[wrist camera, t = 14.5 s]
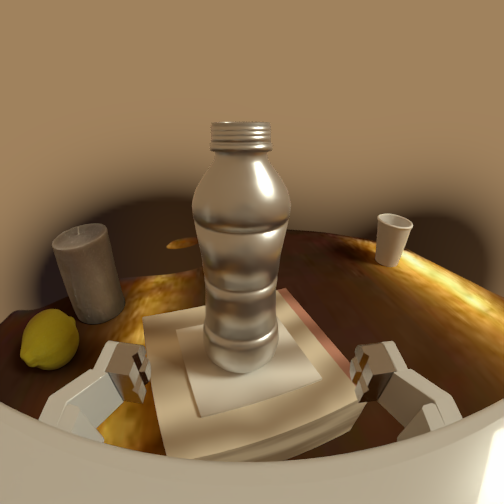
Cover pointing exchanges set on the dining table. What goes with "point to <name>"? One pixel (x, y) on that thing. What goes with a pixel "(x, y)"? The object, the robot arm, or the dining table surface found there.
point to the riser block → (248, 390)
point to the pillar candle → (89, 273)
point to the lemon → (49, 340)
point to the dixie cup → (391, 238)
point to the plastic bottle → (241, 245)
